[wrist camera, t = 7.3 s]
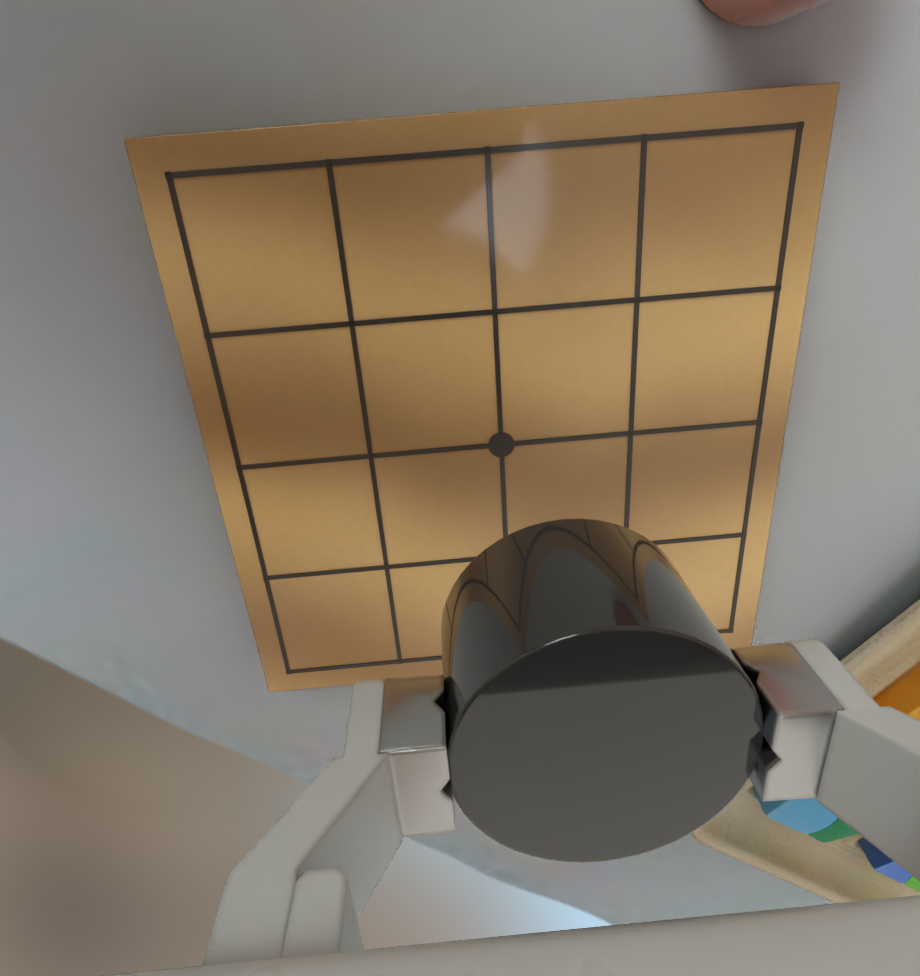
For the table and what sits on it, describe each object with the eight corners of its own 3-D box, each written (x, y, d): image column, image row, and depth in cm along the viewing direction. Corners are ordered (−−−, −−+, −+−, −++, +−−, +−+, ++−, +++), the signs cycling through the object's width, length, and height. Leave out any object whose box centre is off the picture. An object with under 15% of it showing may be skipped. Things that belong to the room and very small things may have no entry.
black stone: (429, 530, 11) (432, 645, 9) (696, 505, 12) (787, 612, 9) (450, 729, 13) (458, 876, 11) (677, 707, 14) (746, 848, 11)
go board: (140, 140, 19) (121, 138, 18) (816, 87, 19) (842, 81, 18) (274, 672, 27) (268, 694, 26) (738, 629, 28) (752, 648, 27)
